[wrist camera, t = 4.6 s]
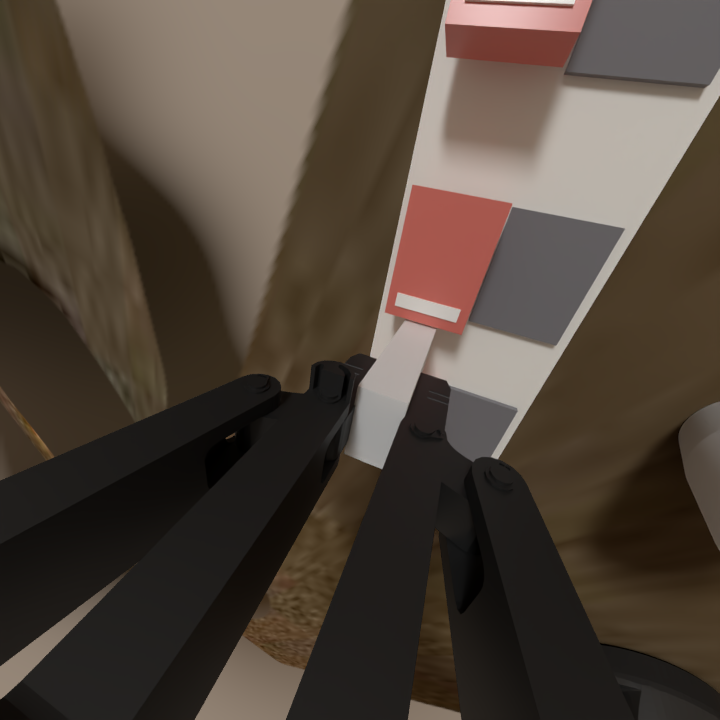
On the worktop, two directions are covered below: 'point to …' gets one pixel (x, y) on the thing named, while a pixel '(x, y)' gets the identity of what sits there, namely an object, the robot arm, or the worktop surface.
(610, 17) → the power strip
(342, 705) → the robot arm
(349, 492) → the worktop surface
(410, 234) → the plate
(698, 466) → the cup
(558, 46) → the block
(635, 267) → the worktop surface
